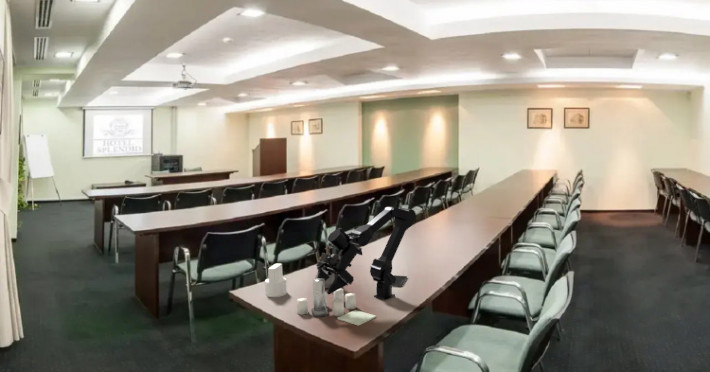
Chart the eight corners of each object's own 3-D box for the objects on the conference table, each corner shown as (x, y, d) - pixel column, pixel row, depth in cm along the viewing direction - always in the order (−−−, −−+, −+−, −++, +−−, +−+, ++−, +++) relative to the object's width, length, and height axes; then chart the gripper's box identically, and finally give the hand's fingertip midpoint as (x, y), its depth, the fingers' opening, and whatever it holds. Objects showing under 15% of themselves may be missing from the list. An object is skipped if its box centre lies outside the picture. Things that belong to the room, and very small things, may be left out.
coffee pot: (340, 289, 200) (339, 255, 199) (313, 289, 200) (312, 256, 199) (341, 275, 221) (340, 245, 220) (317, 276, 221) (316, 245, 220)
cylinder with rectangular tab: (282, 297, 191) (281, 269, 190) (262, 296, 193) (261, 268, 192) (289, 290, 200) (288, 263, 198) (270, 289, 201) (269, 263, 200)
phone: (384, 284, 203) (391, 275, 217) (384, 286, 203) (391, 277, 217) (401, 285, 201) (407, 276, 215) (401, 288, 201) (407, 278, 215)
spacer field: (333, 298, 188) (332, 286, 188) (363, 306, 178) (362, 293, 177) (295, 313, 172) (294, 300, 172) (325, 322, 162) (325, 309, 162)
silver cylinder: (319, 309, 175) (318, 276, 174) (331, 313, 171) (330, 279, 170) (308, 314, 171) (307, 280, 169) (319, 318, 167) (318, 283, 166)
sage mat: (355, 311, 173) (355, 309, 173) (376, 317, 166) (376, 315, 166) (337, 319, 165) (337, 317, 165) (358, 325, 159) (358, 324, 159)
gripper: (320, 240, 180) (295, 273, 175) (346, 248, 165) (320, 284, 159) (337, 257, 185) (314, 289, 180) (364, 266, 170) (339, 301, 165)
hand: (321, 290), depth 171 cm, fingers open, 9 cm apart
